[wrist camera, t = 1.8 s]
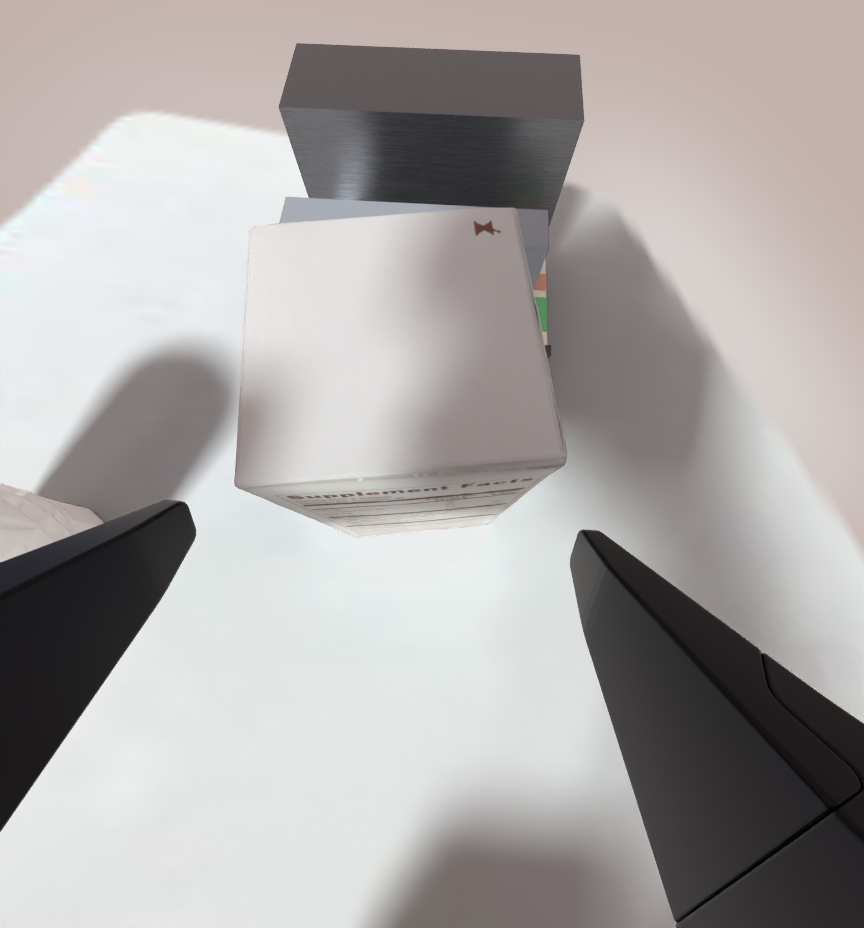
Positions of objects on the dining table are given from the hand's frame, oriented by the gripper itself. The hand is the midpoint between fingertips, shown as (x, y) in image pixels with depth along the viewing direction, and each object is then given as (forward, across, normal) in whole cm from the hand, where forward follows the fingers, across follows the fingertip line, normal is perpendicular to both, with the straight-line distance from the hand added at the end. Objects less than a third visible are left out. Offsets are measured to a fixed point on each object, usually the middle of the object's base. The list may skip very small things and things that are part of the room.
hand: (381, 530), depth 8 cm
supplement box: (+11, 0, +5) cm, 12 cm away
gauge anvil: (+18, 0, -2) cm, 18 cm away
